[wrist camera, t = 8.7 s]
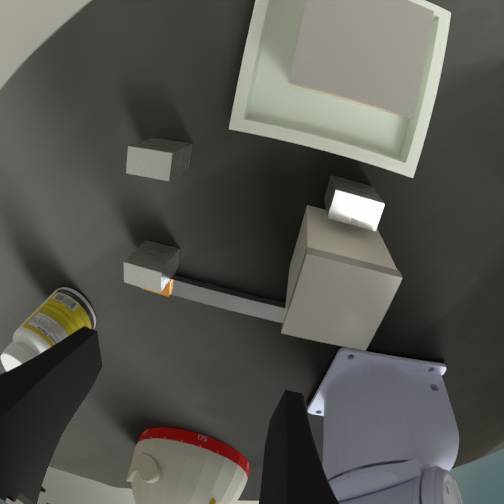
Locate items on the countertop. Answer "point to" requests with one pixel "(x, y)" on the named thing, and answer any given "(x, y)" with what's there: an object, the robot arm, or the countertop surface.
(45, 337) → the supplement bottle
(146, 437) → the kitchen timer
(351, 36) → the white box with band
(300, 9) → the tray
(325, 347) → the countertop surface
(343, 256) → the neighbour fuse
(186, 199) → the countertop surface
